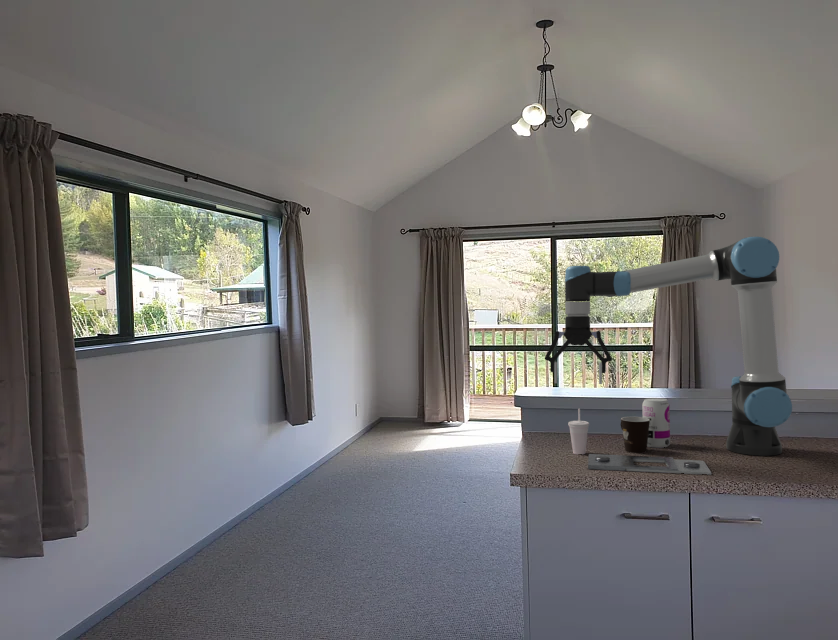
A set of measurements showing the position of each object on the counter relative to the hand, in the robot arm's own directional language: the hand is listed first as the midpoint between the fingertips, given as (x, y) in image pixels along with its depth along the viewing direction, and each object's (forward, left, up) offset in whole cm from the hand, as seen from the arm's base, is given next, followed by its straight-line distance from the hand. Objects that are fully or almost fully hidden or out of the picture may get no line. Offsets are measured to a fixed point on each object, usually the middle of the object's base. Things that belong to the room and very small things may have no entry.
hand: (577, 383), depth 191 cm
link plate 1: (-15, +12, -22) cm, 29 cm away
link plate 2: (-24, +12, -22) cm, 35 cm away
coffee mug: (-17, -8, -22) cm, 29 cm away
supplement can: (-24, -15, -22) cm, 36 cm away
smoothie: (0, 0, -22) cm, 22 cm away
